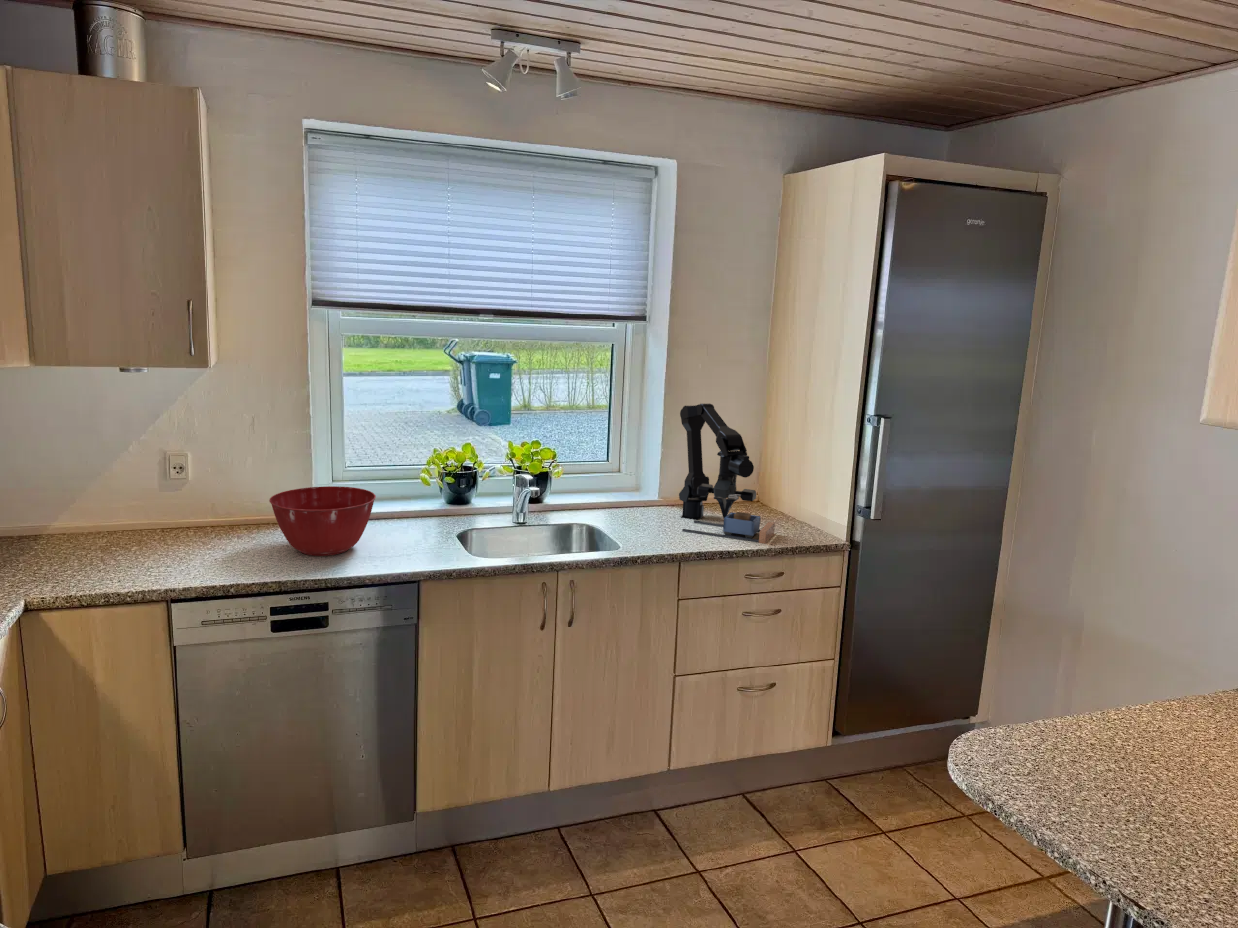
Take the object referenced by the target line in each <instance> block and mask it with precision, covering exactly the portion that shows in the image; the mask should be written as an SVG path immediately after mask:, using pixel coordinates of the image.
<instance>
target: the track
mask: <svg viewBox="0 0 1238 928" xmlns="http://www.w3.org/2000/svg"><path fill="white" fill-rule="evenodd" d="M693 524H698V525H705V526H706V525H707V526H711V527H713V526H714V527H719V528H723V525H724V523H723V524H722V523H715V522H710V521H709V522H708V521H701V520H693ZM775 525H776V522H772V521H768V522H767V523H766V524H765V525H764V526H763V528H761V529H760V528H759V530H758V532H757V533H759V535H758V536H759V538H758V539H756V538H751V539H750V538H746V537H745V536H744V537H743V536H735V535H725V534H724V533H723V534H722V533H721V534H720V533H715V532H707V531H701V530H693V529H687V528H682V531H681V532H684V533H690V534H697V535H704V536H710V537H711V536H712V537H717V538H724V539H725V538H726V539H732V540H737V541H738V540H739V541H745V542H751V543H758V544H767V542H768V541H769V540H770V539H771V538H772V537H773V536H774V534H775Z"/></svg>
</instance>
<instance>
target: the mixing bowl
mask: <svg viewBox="0 0 1238 928" xmlns="http://www.w3.org/2000/svg"><path fill="white" fill-rule="evenodd" d="M376 497H377V496H376V494H375V493H374V492H372V491H370V490H367V489H365V488H359V487H350V486H339V485H338V486H337V485H336V486H331V485H330V486H329V485H328V486H327V485H326V486H312V487H300V488H296V489H289V490H285V491H282V492H278V493H276V494H274V495H272V496H271V497H270V498H269V500H268V501H269V504H271V506H272V507H271V508H272V510H273V511H272V512H273V514H274V517H275V520H276V522H277V525H278V527H279V528H280V531H281V532H282V534H283V536H284V538H285V539H286V541H287V542H288V544H289V545H290V546H291V547H292V548H293V549H295V550H296V551H298V552H300V553H302V554H304V555H308V556H314V557H315V556H316V557H320V556H321V557H324V556H325V557H326V556H334V555H335V556H336V555H340V554H343V553H346V552H347V551H348V550H350V549H351V548H353V547H354V546H355V545H357V543H358V542H359V541H360V540H361V538H362V535H363V533H364V532H365V529H366V528H367V525H368V522H369V520H370V517H371V513H372V510H373V506H374V504H375V503H374V502H375V500H376Z"/></svg>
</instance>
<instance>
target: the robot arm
mask: <svg viewBox="0 0 1238 928" xmlns="http://www.w3.org/2000/svg"><path fill="white" fill-rule="evenodd" d="M679 417H680V421H681V425H682V426H683V428H684V430H685V431H686V441H687V442H686V443H687V446H686V447H687V462H688V463H687V464H688V472H687V473H688V474H687V475H686V477H685V479H684V485H683V488H682V489H681V490H680V491H679V493H678V498H679V500H680V501H681V502H682V513H681V516H680V518H681V519H688V520H693V521H694V520H695V521H700V520H701V518H703V517H704V510H705V505H704V504H703V502H707V501H708V498H709V494H713V500H716V501H717V503H718V505H719V507H720V510H721V511H720V512H721V514H722V518H723V519H724V518H725V517H726V516H727V515H728V514H729V513H730V510H731V508H732V506H733V504H734V502H736V501H738V500H739V498H740V500H742V501H746V502H753V501H754V500H756V499H757V491H756V490H755V489H748V488H744V489H743V490H737V477H738V476H739V477H742V478H745V479H746V478H749V477H750V476H751V475H752V474H753V472H754V471H755V466H754V463H753V462H752V461H751V460H750V456H749V455H748V451H747V448H746V445H745V443H744V440H743V437H742V435H741V434H740V433H739V432H738V431H737V430H736V429H734V428H731V427H730V426H728V425H727V423H726V422H725V421H724V419H723V418H722V417H721V415H719V413H718V412H717V410H716V409H715V406H714V405H713V404H712V403H699V404H697V405H696V404H695V405H683V407H682V408H681V410H680V412H679ZM705 423H706V424H707V426H708V427H709V429H710V430H711V432H713V433H714V435H715V437H716V438H715V443H716V445H717V447H718V448H719V452H717V454H716V455H717V456H718V457H720V459H719V470H718V471H719V472H718V476H717V481H716V483H715V484H714V485H713V484H710V478H709V476H706V474H705V473H704V468H703V467H704V465H703V448H702V445H703V444H702V443H703V442H702V429H703V427H704V425H705Z"/></svg>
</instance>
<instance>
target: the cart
mask: <svg viewBox="0 0 1238 928" xmlns="http://www.w3.org/2000/svg"><path fill="white" fill-rule="evenodd" d="M735 513H736V512H728V515H727V516H726V517H725V518H723V524H724V525H723V527H722V532H723V535H730V536H732V534H737V535H744V538H750V539H753V537H754V535H755V534H757V533H759V532H758V530H759V529H760V526H761V516H760V515H752V514H751V518H750V521H747V520H739V519H734V514H735Z"/></svg>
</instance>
